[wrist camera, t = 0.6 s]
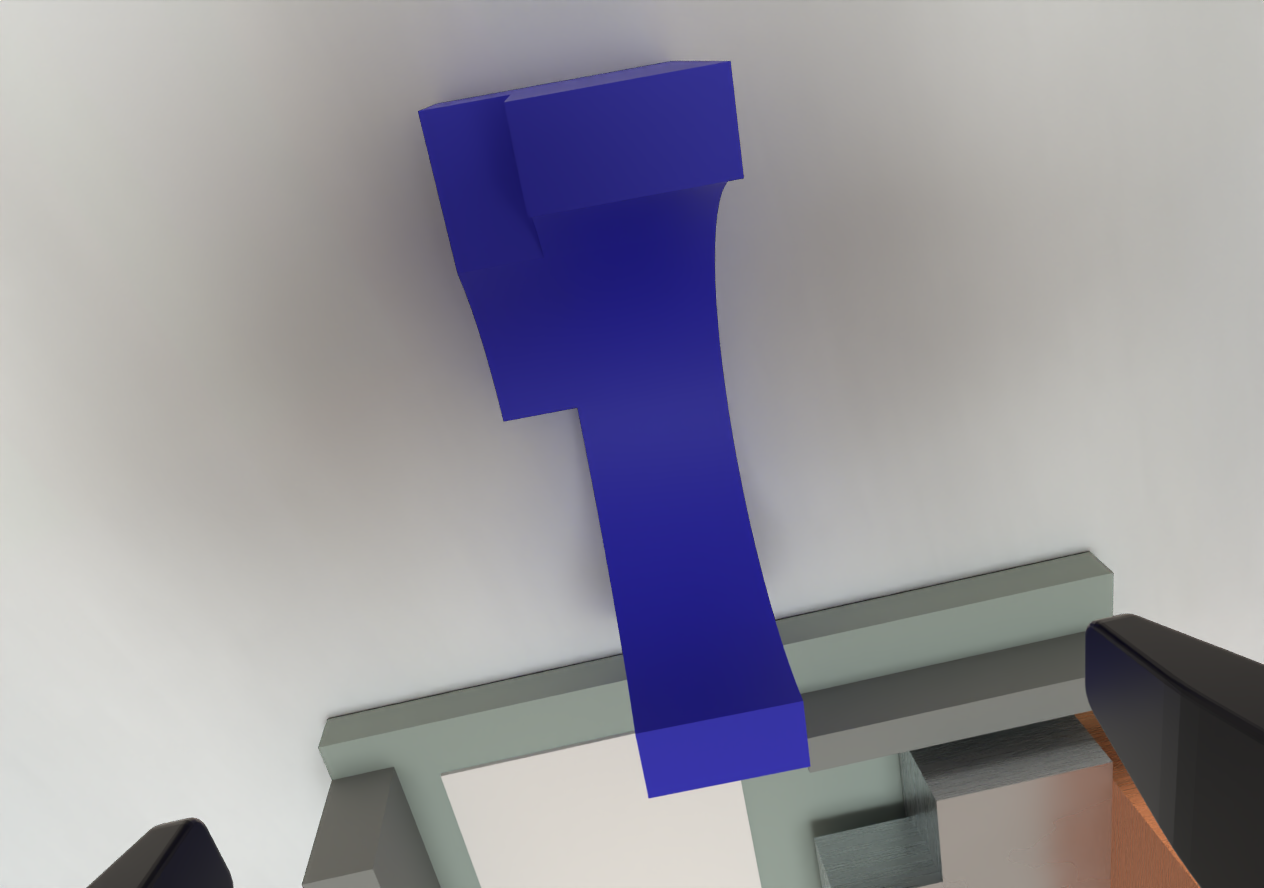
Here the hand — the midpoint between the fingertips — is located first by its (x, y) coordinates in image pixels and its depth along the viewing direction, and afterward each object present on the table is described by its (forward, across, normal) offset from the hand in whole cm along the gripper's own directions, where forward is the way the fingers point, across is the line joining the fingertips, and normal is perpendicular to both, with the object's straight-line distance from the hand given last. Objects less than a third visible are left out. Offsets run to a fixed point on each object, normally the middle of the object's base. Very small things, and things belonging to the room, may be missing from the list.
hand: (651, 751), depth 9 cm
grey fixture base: (+11, -1, +14) cm, 18 cm away
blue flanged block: (+12, 0, 0) cm, 12 cm away
